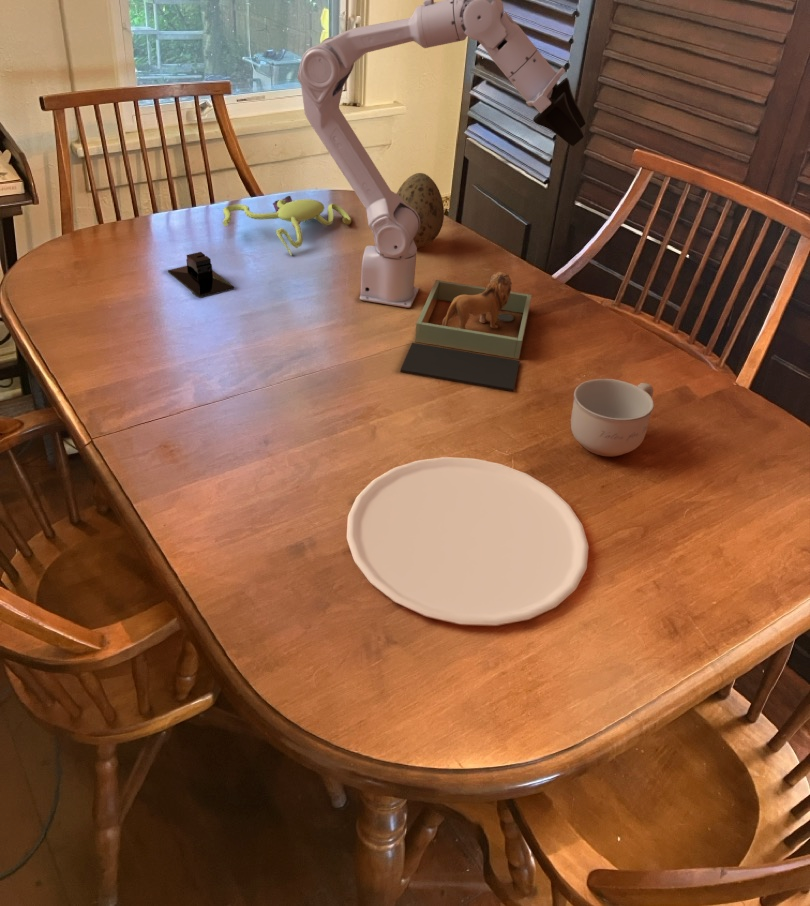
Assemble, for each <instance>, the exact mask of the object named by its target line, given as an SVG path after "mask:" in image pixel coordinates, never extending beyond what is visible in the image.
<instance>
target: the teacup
mask: <svg viewBox="0 0 810 906" xmlns="http://www.w3.org/2000/svg"><path fill="white" fill-rule="evenodd" d="M653 396H654V388H653V386H652V384H650V383H647V382H641V383H639V384H637V385H636V384H633V383H630V382H627V381H624V380H620V379H613V378H595V379H594V378H593V379H589V380H586V381H583V382H582V383H580V384H578V386H576V388H575V389H574V391H573V403H572V409H571V417H570V430H571V433H572V435H573V437H574V439H575V440H576V441H577V442H578V443H579V444H580V445H581V446H582V447H583V448H584V449H585V450H587V451H589V452H591V453H592V454H594V455H599V456H602V457H618V456H619V457H620V456H622V455H624V454H627V453H630V452H632V451H634V450H636V449H637V448H638V447H639V446H640V445H641V444H642V443H643V441H644V440H645V437H646V434H647V431H648V427H649V424H650V420H651V416H652V412H653V411H654V407H655V402H654V400H653Z"/></svg>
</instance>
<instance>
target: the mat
mask: <svg viewBox="0 0 810 906" xmlns="http://www.w3.org/2000/svg"><path fill="white" fill-rule="evenodd" d="M520 361H521V360H519V359H513V358H507V357H501V356H495V355H489V354H483V353H478V352H472V351H466V350H460V349H454V348H448V347H442V346H436V345H430V344H424V343H418V342H412V343H411V345H410V347H409V349H408V351H407V354H406V356H405V358H404V360H403V362H402V365H401V367H400V369H399V370H400V371H399V372H400V373H404V374H408V375H409V374H410V375H415V376H421V377H426V378H433V379H436V380H437V379H438V380H443V381H449V382H455V383H462V384H466V385H472V386H477V387H484V388H490V389H496V390H500V391H501V390H502V391H507V392H512V393H513V392H515V386H516V381H517V377H518V373H519V367H520Z"/></svg>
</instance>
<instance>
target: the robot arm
mask: <svg viewBox="0 0 810 906" xmlns="http://www.w3.org/2000/svg"><path fill="white" fill-rule="evenodd" d="M422 2H423V4H421V5H417V6H416V7H415V9H414V11H413V12H412V15H411V17H407V18H401V19H396V20H391V21H385V22H379V23H374V24H369V25H363V26H357V27H353V28H350V29H348V30H345V31H343V32H341V33H339V34H337V35H335V36H329V37H326V38H324V40H322V41H321V42H320V43H318V44H317V45H315V46H312V47H310V48H308V49H307V50H306V51H305V52H304V53H303V54H302V57H301V59H300V63H299V67H298V71H297V75H296V78H297V80H298V82H299V84H300V87H301V95H302V103H303V108H304V115H305V118H306V120H307V121H308V123H309V124H310V125H311V127H312V128H313V130H314V132H315V133H316V135H317V137H318V138H319V140H320V141H321V142H322V144H323V146H324V147H325V148H326V150H327V152H328V153H329V155H330V156H331V158H332V159H333V161H334V162H335V164H336V165H337V167H338V168H339V170H340V172H341V173H342V175H343V177H344V178H345V179H346V181H347V182H348V184H349V186H350V187H351V188H352V190H353V192H354V193H355V194H356V196H357V198H358V199H359V201H360V202H361V204H362V205H363V207H364V209H365V210H366V218H367V224H368V227H369V229H370V230H371V232H372V234H373V240H374V245H366V247H365V248H364V251H363V255H362V260H361V273H360V274H361V277H360V296H359V300H360V301H364V302H369V303H370V302H371V303H376V304H383V305H388V306H395V307H401V308H406V309H407V308H409V309H410V308H412V305H413V303H414V301H415V299H416V297H417V295H418V293H419V290H420V289H419V287H418V286H415V278H416V265H417V252H418V248H417V247H416V245H415V243H414V240H413V238H414V236H415V235H416V234H417V233H418V231H419V228H420V218H419V216H418V214H417V212H416V211H415V210H414V209H413V208H411V207H410V206H408V205H407V204H406V203H405V202H404V201H403V200H402V198H401V196H399V195H398V194H397V192H394V191H392V190H391V189H390V186H389V185H388V184H387V181H386V180H385V179H384V177H383V176H382V174H381V172H380V171H379V169H378V168H377V166H376V165H375V163H374V161H373V159H372V158H371V157H370V155H369V154H368V152H367V150H366V149H365V147H364V145H363V144H362V142H361V141H360V139H359V137H358V136H357V133H356V132H355V131H354V130H353V128H352V126H351V125H350V123H349V121H348V120H347V119H346V117H345V116H344V114H343V112H342V110H341V109H340V104H341V100H342V96H343V95H342V94H343V90H344V86H345V84H346V82H347V80H348V79H349V78H350V75H351V74H352V71H353V70H354V67H355V63H356V62H357V61H359V60H361V58H362V57H363V56H365V54H366V53H372V52H375V51H379V50H384V49H387V48H391V47H395V46H399V45H403V44H407V43H411V42H414V43H416V44H418V45H419V46H420V47H421V48H423V49H429V48H434V47H438V46H443V45H449V44H452V43H458V42H463V41H465V40H466V39H467V38H469V39H471V40H474V41H478V43H479V45H481V46H482V47H483V49H484V50H485V51H486V52H487V54H488V57H489V58H491V60H492V61H493V62H494V64H495V65H496V66H497V67H498V68H499V70H500V71H501V72H502V73H503V74H504V76H505V77H506V78H507V80H508V81H509V82H510V83H511V84H512V85H513V86H514V88H515V89H516V90H517V92H518V93H519V95H521V97H522V98H523V99H524V100H525V103H526V105H527V106H528V107H534V108H535V109H536V110H537V111H538V113H536V115H535V116H533V119H532V121H533V123H535V124H536V125H538V126H541V127H544V128H546V129H548V130H550V131H551V132H552V133H555V135H557V136H559V138H561V139H562V140H563V141H564V142H566V143H567V144H569V145H570V146H572V147H574V146H576V145H577V144H578V143H579V142H580V141H581V140H582V139H584V137H585V136H584V135H585V134H584V133H583V131H582V128H584V126H586V124H587V122H586V121H585V118H584V116H583V113H582V111H581V110H580V108H579V106H578V104H577V102H576V100H575V98H574V95H573V92H572V89H571V83H570V80H569V78H568V77H565V78H563V79H562V80H561V81H560V82H559V80H560V79H561V77H562V76H563V75H565V72H566V69H565V68H564V67H560V68H559V69H558V70H557V71H555V70H554V68H553V67H552V66H551V64H550V63H549V62H548V61H547V59H546V58H545V56H543V54H541V52H540V51H539V49H538V48H537V47H536V45H534V43H533V42H532V40H530V38H529V37H528V36H527V34H526V33H525V32H524V31H523V29H522V28H521V27H520V25H519V24H517V23H516V22H515V21H514V19H513V18H512V17H511V15H509V14H508V12H507V11H504V10H505V9H504V3H503V1H502V0H439V1H435V0H423V1H422ZM558 82H559V83H558Z"/></svg>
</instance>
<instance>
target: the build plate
mask: <svg viewBox="0 0 810 906" xmlns="http://www.w3.org/2000/svg"><path fill="white" fill-rule="evenodd" d="M167 273H168V274H169V275H171V276H172V277H173V278H174V279H176V280H177V281H178V282H179V283H180V284H182V285H183V286H184V287H186V289H188V290H189V291H190V292H191V293H192V295H193V296H195V297H196V298H204V297H208V296H212V295H216V294H220V293H223V292H227V291H230V290H235V286H234V285H232V284H231V283H230V282H229V281H228V280H226V279H225V278H224V277H222V276H221V275H219V274H218V273H217V272H215V271H214V270H213V264H212V262H211V258H210V257H208V256H207V255H206V254H204V252H202V251H198V252H193V253H190V254H186V265H184V266H180V267H176V268H171V269H168V270H167Z"/></svg>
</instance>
